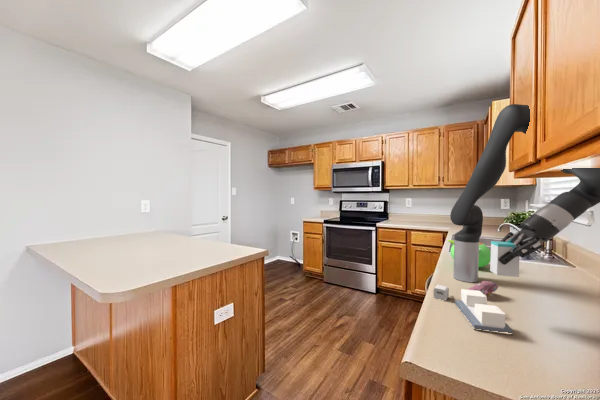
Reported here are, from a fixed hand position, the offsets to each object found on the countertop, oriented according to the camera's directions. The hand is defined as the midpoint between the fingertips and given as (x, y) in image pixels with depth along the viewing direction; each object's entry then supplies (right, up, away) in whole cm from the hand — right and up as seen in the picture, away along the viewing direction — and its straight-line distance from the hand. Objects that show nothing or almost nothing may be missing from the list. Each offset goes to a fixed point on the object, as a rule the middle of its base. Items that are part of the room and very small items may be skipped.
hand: (497, 259), depth 77 cm
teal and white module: (+2, -4, 0) cm, 5 cm away
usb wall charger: (-8, -18, +16) cm, 25 cm away
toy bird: (+28, -17, +54) cm, 63 cm away
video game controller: (+8, -18, +17) cm, 26 cm away
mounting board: (-5, -18, 0) cm, 19 cm away
